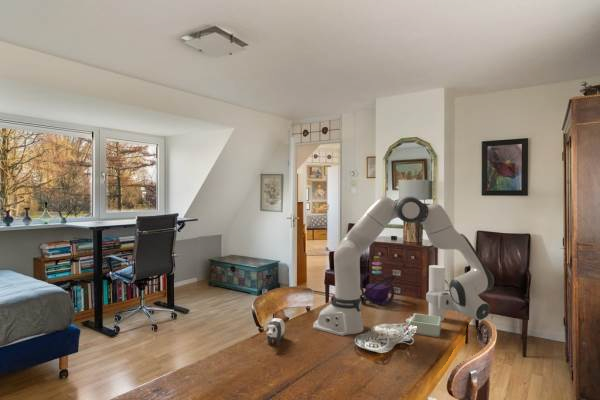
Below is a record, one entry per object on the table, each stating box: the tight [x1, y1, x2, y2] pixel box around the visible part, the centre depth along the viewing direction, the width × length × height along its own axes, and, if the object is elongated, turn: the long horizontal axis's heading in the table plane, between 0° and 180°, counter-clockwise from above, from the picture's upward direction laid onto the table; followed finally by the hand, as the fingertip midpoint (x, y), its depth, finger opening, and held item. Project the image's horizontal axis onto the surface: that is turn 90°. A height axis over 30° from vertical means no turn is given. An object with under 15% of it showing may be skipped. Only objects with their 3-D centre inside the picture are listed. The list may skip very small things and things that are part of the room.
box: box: [409, 312, 442, 338], centre depth 162 cm, size 12×12×5 cm
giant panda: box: [266, 317, 286, 347], centre depth 148 cm, size 15×6×10 cm, turn 169°
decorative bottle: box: [360, 255, 397, 306], centre depth 203 cm, size 22×21×25 cm
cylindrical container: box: [428, 264, 446, 322], centre depth 176 cm, size 7×7×25 cm
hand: (437, 292), depth 175 cm, fingers open, 8 cm apart
